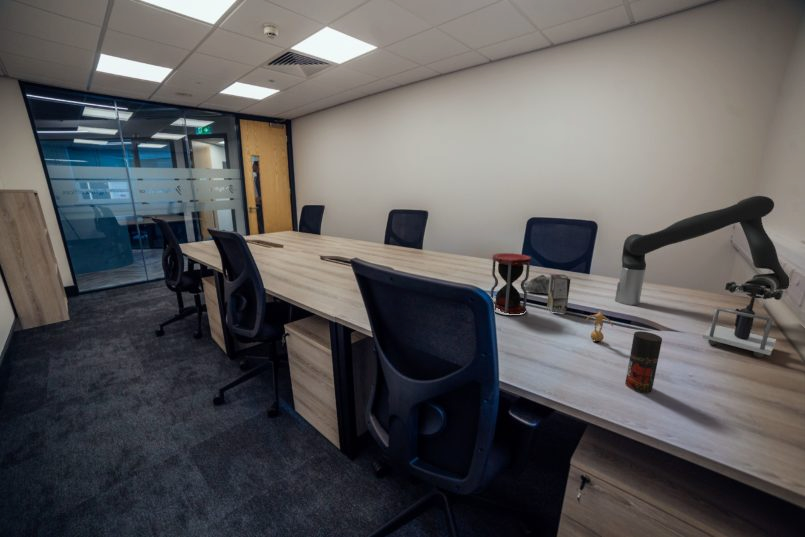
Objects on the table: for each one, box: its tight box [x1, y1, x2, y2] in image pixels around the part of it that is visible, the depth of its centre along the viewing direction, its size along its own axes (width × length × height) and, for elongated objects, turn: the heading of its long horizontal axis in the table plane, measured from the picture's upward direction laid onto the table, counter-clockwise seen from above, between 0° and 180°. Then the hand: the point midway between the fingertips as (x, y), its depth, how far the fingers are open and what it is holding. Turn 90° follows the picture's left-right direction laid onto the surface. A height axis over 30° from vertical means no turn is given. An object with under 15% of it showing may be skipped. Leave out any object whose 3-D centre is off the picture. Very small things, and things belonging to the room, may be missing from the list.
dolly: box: [702, 307, 777, 358], centre depth 110 cm, size 16×15×14 cm
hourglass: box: [490, 252, 532, 314], centre depth 144 cm, size 16×16×25 cm
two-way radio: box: [734, 296, 756, 339], centre depth 110 cm, size 6×4×15 cm
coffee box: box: [546, 273, 571, 314], centre depth 144 cm, size 9×6×16 cm
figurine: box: [585, 311, 614, 342], centre depth 113 cm, size 8×6×12 cm
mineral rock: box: [524, 274, 550, 295], centre depth 172 cm, size 13×11×10 cm
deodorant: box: [624, 331, 663, 394], centre depth 86 cm, size 6×6×15 cm
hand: (747, 293), depth 116 cm, fingers open, 8 cm apart
